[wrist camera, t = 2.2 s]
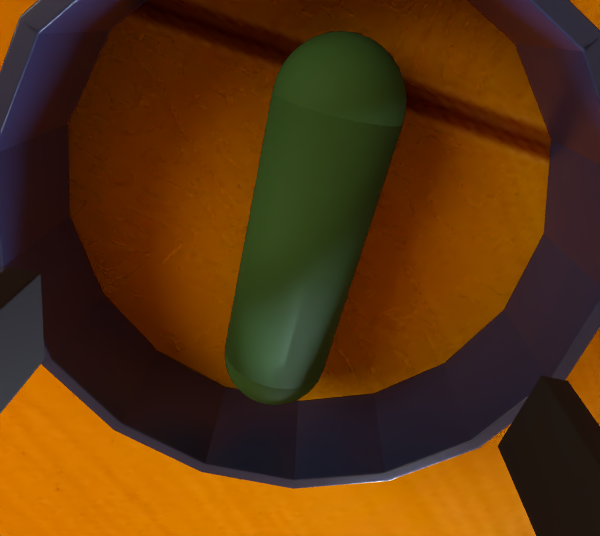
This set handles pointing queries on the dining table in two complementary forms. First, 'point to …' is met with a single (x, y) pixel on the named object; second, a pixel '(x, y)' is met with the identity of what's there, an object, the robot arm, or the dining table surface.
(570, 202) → the ring
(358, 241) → the cucumber
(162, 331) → the dining table surface
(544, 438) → the robot arm
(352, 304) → the dining table surface
